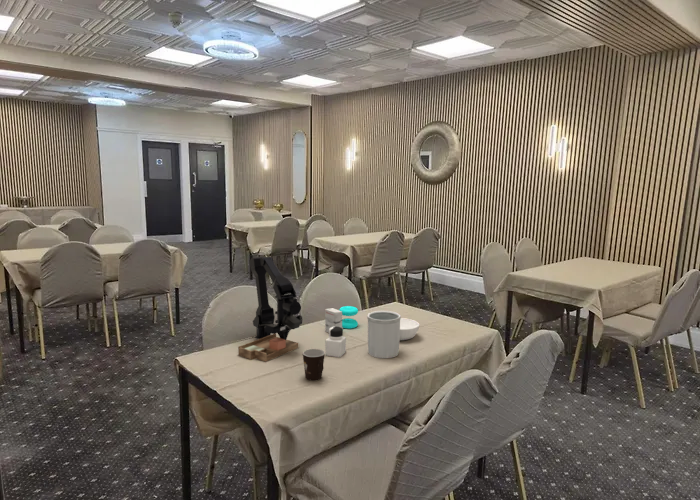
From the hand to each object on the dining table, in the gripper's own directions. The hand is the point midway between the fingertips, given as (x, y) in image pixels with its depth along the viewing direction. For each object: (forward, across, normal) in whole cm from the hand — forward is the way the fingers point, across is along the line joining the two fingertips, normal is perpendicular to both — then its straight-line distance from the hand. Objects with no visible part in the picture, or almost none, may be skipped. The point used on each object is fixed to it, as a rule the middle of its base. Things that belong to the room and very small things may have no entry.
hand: (283, 342), depth 207 cm
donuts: (+4, +46, -3) cm, 46 cm away
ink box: (+4, +33, -3) cm, 33 cm away
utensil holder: (+4, +25, -37) cm, 45 cm away
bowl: (+4, +48, -33) cm, 58 cm away
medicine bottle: (+4, +11, -21) cm, 24 cm away
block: (+1, -4, 0) cm, 4 cm away
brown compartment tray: (+3, -5, +4) cm, 7 cm away
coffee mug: (+4, -15, -30) cm, 34 cm away
